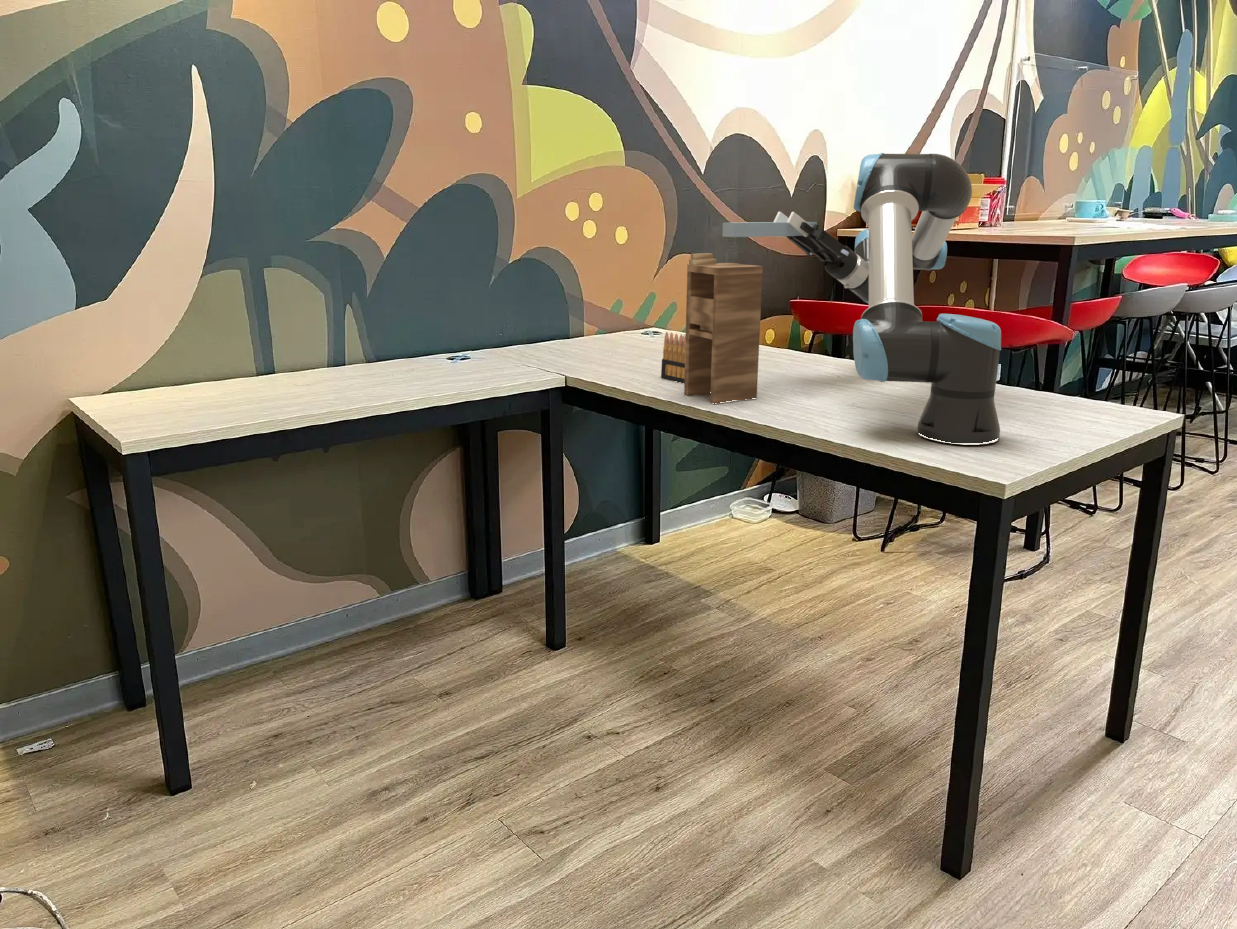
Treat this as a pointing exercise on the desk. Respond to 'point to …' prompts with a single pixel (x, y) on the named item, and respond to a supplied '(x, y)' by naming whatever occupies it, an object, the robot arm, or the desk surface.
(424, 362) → the desk surface
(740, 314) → the rack
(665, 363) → the ammunition clip
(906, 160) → the robot arm
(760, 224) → the batten
